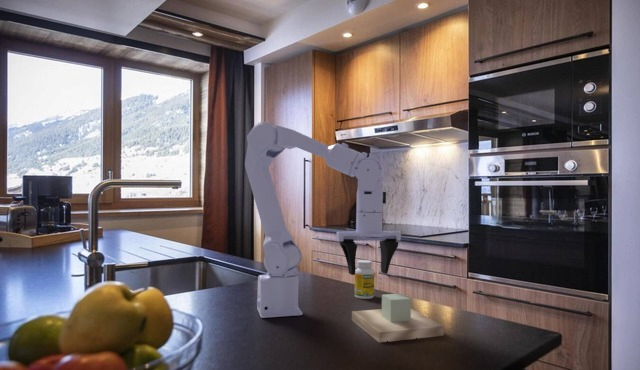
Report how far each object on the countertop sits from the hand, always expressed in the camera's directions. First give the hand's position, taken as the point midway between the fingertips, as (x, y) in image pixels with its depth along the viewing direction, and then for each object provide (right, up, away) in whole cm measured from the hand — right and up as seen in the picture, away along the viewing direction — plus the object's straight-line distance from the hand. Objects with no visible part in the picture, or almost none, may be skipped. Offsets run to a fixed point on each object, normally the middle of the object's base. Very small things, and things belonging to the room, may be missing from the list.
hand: (368, 273), depth 91 cm
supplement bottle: (+1, -11, +20) cm, 23 cm away
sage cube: (+5, -8, -5) cm, 11 cm away
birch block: (+5, -11, -5) cm, 13 cm away
